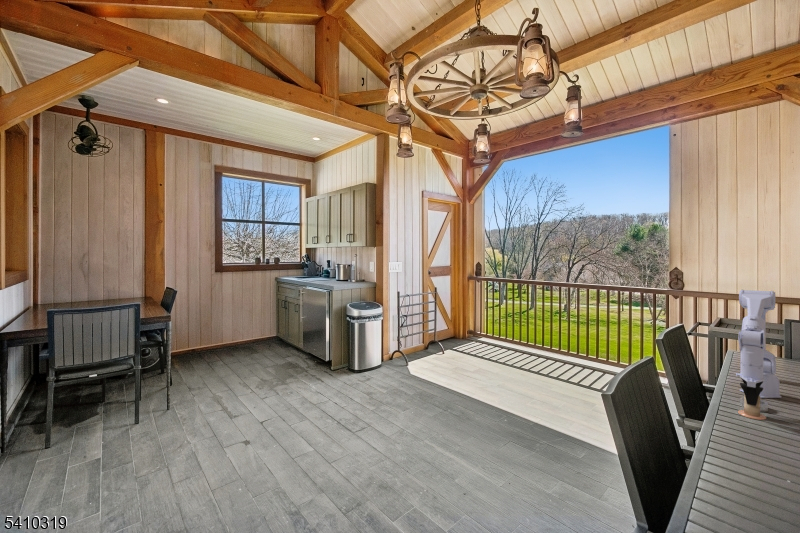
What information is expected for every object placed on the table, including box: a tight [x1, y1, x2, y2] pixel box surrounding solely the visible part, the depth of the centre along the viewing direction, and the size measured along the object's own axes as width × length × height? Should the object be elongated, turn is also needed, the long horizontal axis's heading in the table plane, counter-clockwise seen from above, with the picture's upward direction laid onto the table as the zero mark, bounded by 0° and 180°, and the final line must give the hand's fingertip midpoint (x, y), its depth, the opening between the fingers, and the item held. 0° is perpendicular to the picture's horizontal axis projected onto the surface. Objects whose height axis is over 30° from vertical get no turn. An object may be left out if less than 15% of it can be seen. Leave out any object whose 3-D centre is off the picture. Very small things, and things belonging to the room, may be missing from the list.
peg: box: [743, 393, 761, 417], centre depth 121 cm, size 4×4×7 cm
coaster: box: [737, 409, 767, 421], centre depth 121 cm, size 7×7×1 cm
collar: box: [739, 396, 769, 413], centre depth 128 cm, size 7×7×2 cm
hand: (751, 401), depth 121 cm, fingers open, 7 cm apart
